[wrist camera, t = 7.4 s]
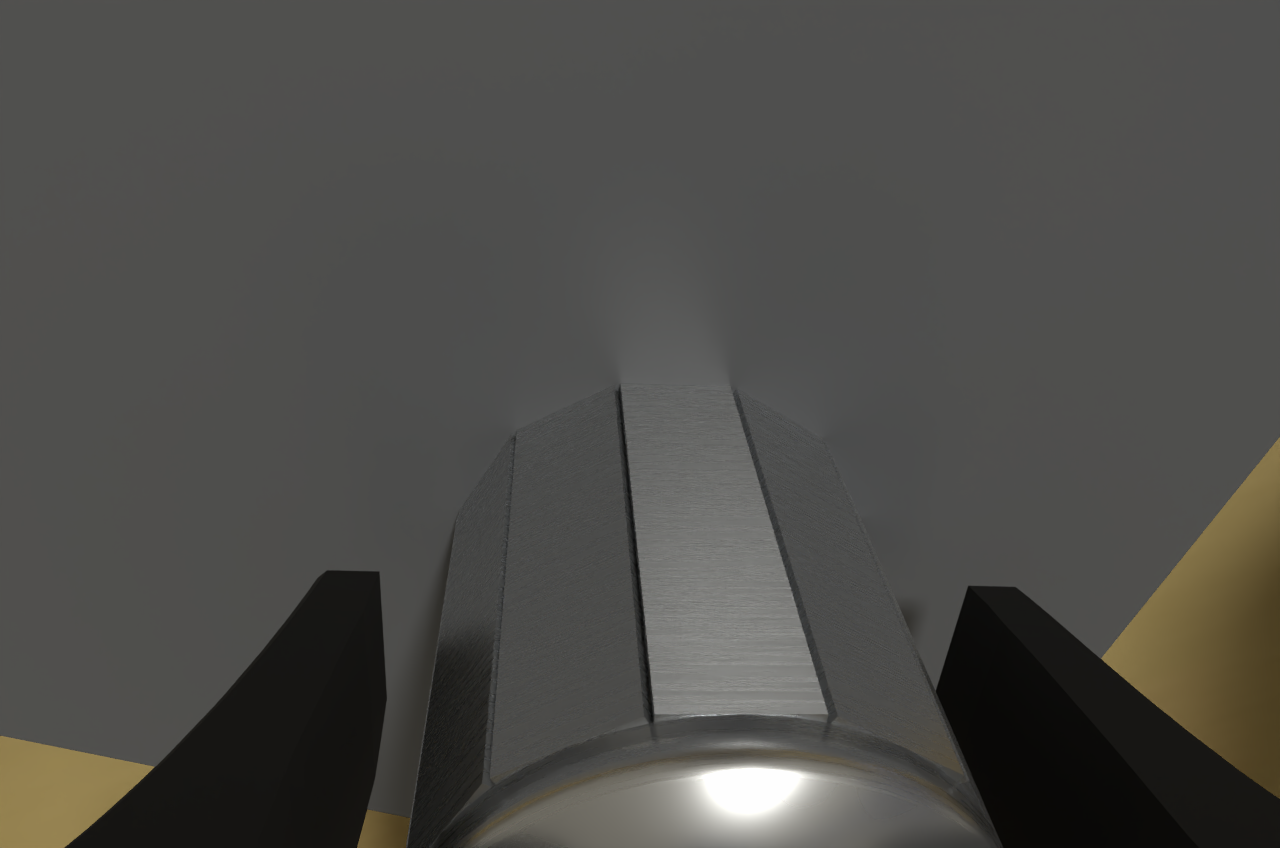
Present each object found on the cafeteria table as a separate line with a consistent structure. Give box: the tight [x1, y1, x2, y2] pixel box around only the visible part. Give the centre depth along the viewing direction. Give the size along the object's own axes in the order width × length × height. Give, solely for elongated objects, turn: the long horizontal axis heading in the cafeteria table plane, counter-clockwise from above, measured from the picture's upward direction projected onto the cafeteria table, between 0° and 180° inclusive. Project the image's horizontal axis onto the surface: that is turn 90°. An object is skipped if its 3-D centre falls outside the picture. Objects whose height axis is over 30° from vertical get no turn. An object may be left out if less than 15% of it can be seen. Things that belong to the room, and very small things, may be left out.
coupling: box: [406, 383, 1003, 848], centre depth 11 cm, size 5×5×6 cm
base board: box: [0, 0, 1280, 818], centre depth 12 cm, size 20×20×1 cm
